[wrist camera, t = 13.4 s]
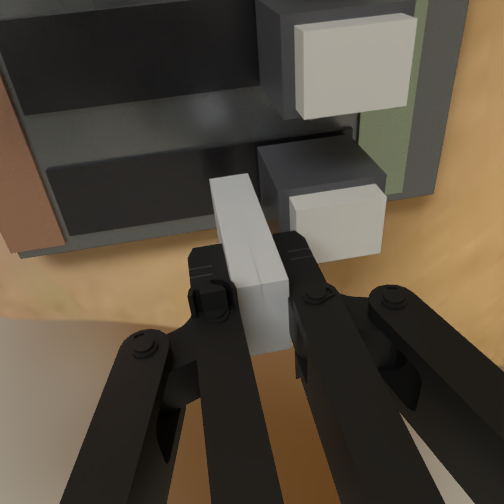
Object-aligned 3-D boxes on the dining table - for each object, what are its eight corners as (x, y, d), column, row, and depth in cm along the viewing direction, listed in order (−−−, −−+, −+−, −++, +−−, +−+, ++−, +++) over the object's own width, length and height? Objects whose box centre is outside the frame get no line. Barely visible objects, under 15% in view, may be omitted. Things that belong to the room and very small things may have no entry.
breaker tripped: (261, 208, 21) (286, 275, 17) (256, 147, 19) (284, 204, 15) (345, 195, 21) (389, 257, 17) (348, 134, 19) (398, 187, 15)
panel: (24, 241, 22) (15, 262, 21) (-191, -234, 13) (-234, -253, 11) (419, 180, 24) (435, 195, 22) (491, -271, 14) (526, -291, 13)
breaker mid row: (260, 85, 18) (291, 131, 14) (254, -3, 16) (288, 21, 12) (359, 72, 18) (417, 113, 14) (364, -15, 16) (433, 4, 12)
